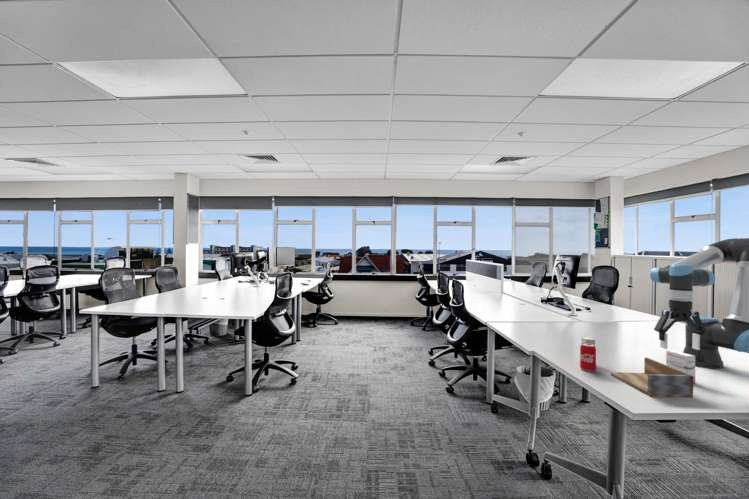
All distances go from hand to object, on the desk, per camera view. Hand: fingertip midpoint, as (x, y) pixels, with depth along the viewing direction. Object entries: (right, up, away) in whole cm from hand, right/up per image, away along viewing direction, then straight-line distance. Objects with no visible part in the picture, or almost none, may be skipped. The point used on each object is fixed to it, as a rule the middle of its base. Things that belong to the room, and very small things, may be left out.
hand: (679, 348), depth 143 cm
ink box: (0, -14, 0) cm, 14 cm away
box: (-28, -14, +19) cm, 36 cm away
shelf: (-19, -13, -6) cm, 24 cm away
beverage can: (-33, -14, +11) cm, 37 cm away
